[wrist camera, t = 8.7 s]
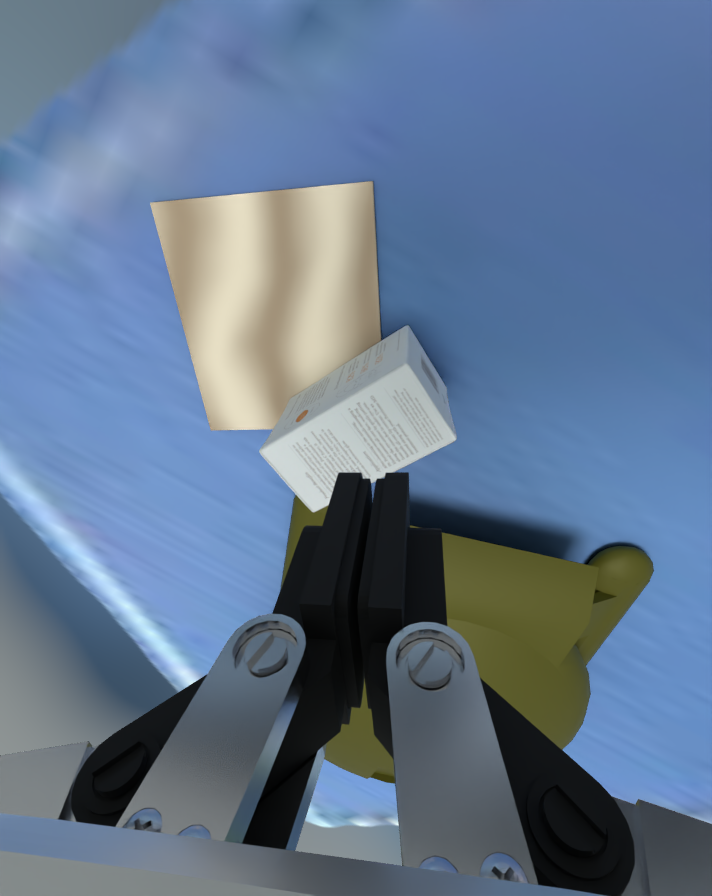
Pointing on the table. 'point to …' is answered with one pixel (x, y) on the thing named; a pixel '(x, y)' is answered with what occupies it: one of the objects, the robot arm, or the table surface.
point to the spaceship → (511, 631)
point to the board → (271, 292)
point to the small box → (362, 420)
